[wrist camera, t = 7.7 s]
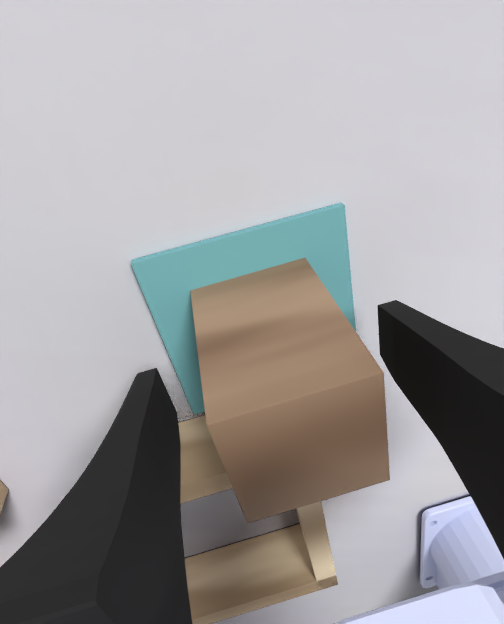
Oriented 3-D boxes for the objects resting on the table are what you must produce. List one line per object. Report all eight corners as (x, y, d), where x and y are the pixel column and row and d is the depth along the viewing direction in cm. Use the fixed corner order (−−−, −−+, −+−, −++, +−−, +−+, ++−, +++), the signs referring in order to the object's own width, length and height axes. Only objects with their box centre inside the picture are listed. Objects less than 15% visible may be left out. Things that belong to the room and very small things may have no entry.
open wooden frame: (319, 528, 24) (337, 584, 21) (5, 622, 23) (-14, 693, 21) (288, 391, 18) (309, 447, 15) (-139, 514, 17) (-190, 594, 15)
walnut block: (319, 347, 16) (390, 480, 11) (221, 376, 16) (247, 523, 11) (304, 257, 14) (383, 373, 9) (190, 290, 14) (206, 425, 9)
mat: (356, 362, 18) (359, 367, 17) (193, 409, 17) (193, 414, 17) (341, 202, 14) (344, 205, 13) (131, 259, 13) (130, 263, 13)
